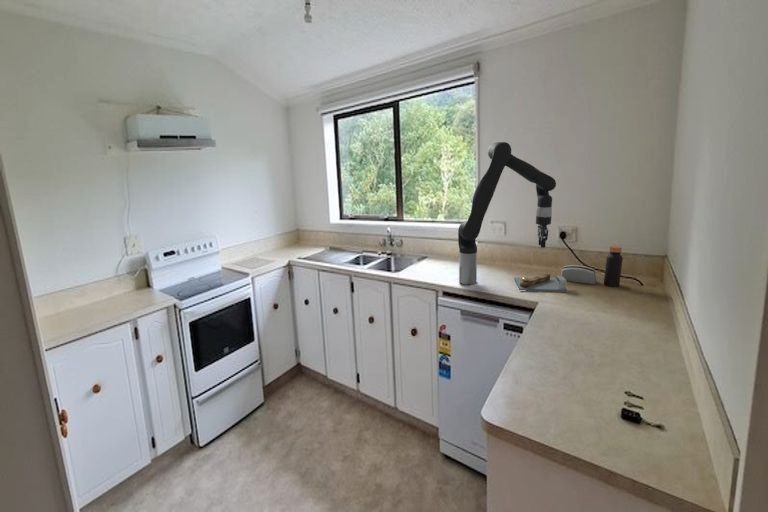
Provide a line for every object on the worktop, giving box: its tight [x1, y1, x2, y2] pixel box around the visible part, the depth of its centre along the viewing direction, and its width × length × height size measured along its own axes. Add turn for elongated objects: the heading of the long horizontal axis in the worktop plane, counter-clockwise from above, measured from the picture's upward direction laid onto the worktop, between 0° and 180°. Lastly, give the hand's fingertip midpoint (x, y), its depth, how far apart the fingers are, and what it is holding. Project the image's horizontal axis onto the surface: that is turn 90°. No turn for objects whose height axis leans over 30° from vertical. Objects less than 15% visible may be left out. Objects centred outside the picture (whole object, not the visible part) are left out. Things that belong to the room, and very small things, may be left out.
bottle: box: [603, 245, 624, 288], centre depth 183 cm, size 7×7×20 cm
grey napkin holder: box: [560, 264, 597, 285], centre depth 193 cm, size 17×5×10 cm, turn 57°
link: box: [520, 273, 551, 287], centre depth 190 cm, size 21×4×2 cm, turn 119°
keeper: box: [555, 275, 567, 290], centre depth 183 cm, size 3×7×5 cm, turn 169°
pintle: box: [521, 276, 529, 282], centre depth 186 cm, size 3×3×1 cm
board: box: [513, 276, 568, 293], centre depth 190 cm, size 22×18×1 cm
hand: (541, 246), depth 199 cm, fingers open, 5 cm apart
